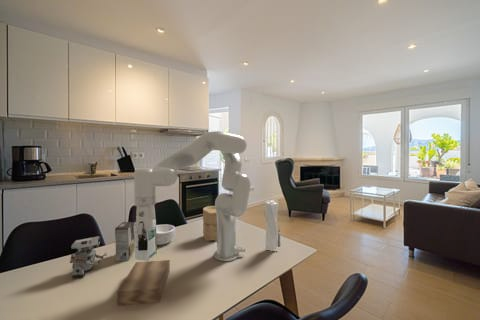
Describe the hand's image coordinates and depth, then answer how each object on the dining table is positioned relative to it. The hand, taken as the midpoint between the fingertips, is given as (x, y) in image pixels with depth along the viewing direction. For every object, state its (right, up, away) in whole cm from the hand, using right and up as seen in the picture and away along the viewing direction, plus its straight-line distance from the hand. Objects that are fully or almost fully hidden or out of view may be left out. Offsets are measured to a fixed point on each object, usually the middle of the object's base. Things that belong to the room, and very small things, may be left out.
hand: (145, 245), depth 87 cm
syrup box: (0, -5, 0) cm, 5 cm away
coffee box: (-20, -15, +25) cm, 36 cm away
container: (+21, -14, +49) cm, 55 cm away
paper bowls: (-9, -15, +43) cm, 46 cm away
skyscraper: (+54, -15, +34) cm, 66 cm away
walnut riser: (0, -16, +1) cm, 16 cm away
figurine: (-30, -16, +11) cm, 35 cm away
